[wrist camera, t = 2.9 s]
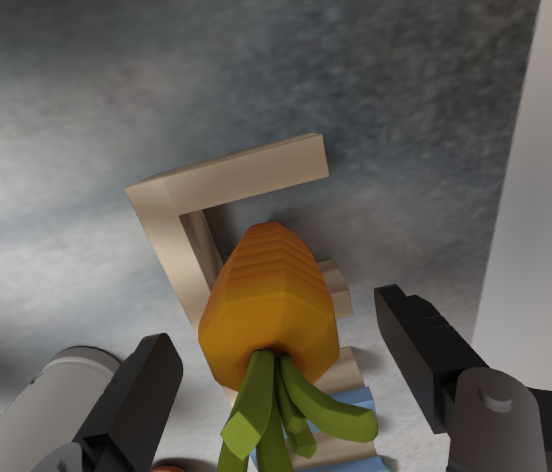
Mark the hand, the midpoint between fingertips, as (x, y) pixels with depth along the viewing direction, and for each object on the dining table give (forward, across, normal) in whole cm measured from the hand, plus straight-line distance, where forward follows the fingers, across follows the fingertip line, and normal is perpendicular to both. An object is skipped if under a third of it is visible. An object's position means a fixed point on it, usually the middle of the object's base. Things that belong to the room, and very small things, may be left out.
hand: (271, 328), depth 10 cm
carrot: (+10, 0, 0) cm, 10 cm away
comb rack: (+9, 0, +8) cm, 13 cm away
